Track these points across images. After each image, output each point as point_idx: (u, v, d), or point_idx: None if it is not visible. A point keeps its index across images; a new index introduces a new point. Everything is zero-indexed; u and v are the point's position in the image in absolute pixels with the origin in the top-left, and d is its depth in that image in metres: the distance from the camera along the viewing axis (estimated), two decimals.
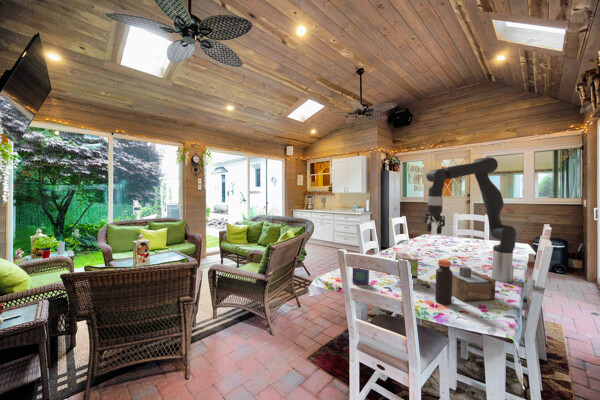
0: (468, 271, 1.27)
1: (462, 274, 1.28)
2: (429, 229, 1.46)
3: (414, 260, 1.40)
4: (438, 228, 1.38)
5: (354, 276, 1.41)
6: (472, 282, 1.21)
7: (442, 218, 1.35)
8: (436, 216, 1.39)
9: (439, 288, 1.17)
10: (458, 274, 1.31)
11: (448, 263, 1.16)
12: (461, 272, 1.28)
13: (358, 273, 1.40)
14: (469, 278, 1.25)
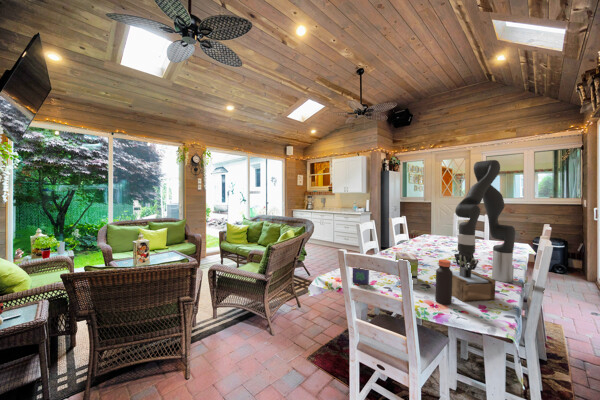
0: None
1: (462, 274, 1.28)
2: None
3: (414, 260, 1.40)
4: (467, 271, 1.26)
5: (354, 276, 1.41)
6: (472, 282, 1.21)
7: (475, 263, 1.22)
8: (469, 259, 1.25)
9: (439, 288, 1.17)
10: (458, 274, 1.31)
11: (448, 263, 1.16)
12: (461, 272, 1.28)
13: (358, 273, 1.40)
14: (469, 278, 1.25)
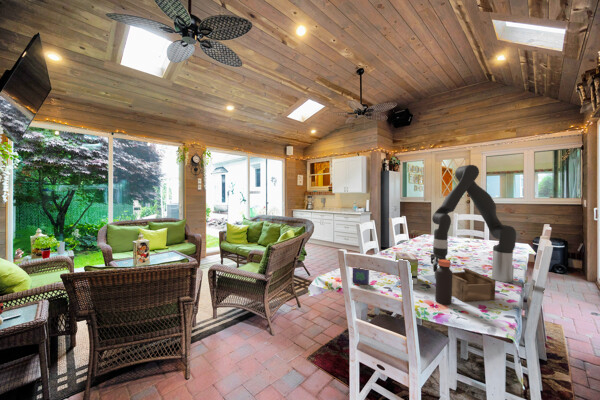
0: None
1: None
2: (435, 270, 1.51)
3: (414, 260, 1.40)
4: None
5: (354, 276, 1.41)
6: None
7: None
8: (442, 259, 1.44)
9: (439, 288, 1.17)
10: (433, 277, 1.51)
11: (448, 263, 1.16)
12: None
13: (358, 273, 1.40)
14: None
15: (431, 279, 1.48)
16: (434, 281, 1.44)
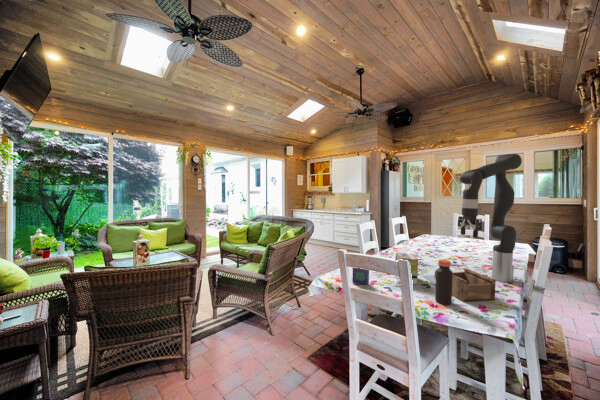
0: None
1: None
2: (463, 232, 1.43)
3: (414, 260, 1.40)
4: (474, 232, 1.34)
5: (354, 276, 1.41)
6: None
7: (479, 221, 1.32)
8: (472, 219, 1.35)
9: (439, 288, 1.17)
10: (433, 277, 1.51)
11: (448, 263, 1.16)
12: None
13: (358, 273, 1.40)
14: None
15: (431, 279, 1.48)
16: (434, 281, 1.44)
